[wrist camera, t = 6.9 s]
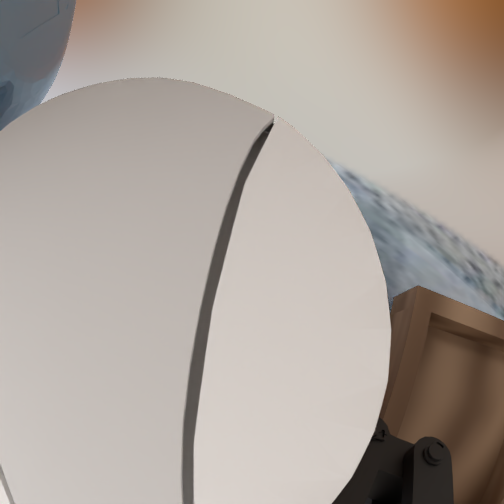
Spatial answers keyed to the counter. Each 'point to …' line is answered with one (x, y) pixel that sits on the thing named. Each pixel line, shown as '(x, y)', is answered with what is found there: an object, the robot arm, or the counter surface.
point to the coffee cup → (181, 304)
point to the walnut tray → (449, 387)
